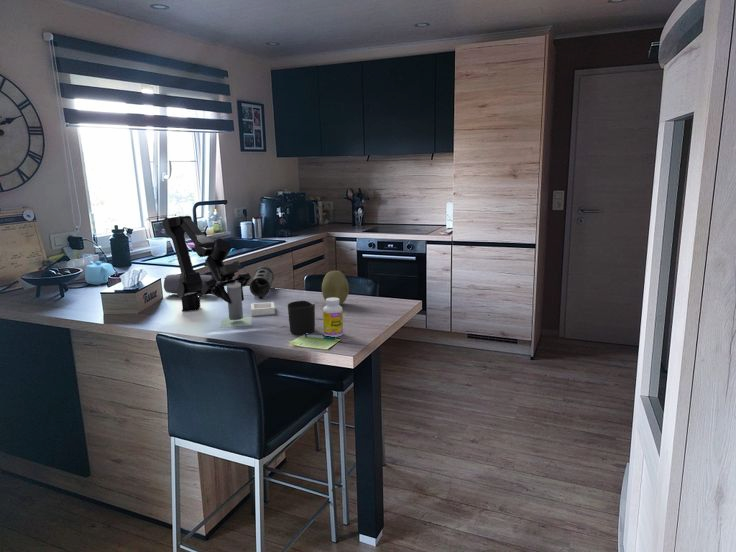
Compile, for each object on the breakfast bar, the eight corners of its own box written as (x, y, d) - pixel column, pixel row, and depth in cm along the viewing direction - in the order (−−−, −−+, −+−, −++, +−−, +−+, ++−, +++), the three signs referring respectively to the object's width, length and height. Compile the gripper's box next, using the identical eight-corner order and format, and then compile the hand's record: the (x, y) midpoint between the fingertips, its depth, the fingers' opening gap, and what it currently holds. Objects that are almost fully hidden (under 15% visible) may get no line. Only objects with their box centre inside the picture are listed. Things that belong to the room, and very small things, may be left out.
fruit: (354, 303, 214) (353, 269, 211) (338, 310, 205) (337, 274, 202) (332, 300, 220) (331, 266, 217) (316, 306, 211) (315, 271, 208)
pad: (220, 330, 182) (220, 327, 182) (222, 321, 193) (221, 318, 193) (251, 327, 185) (251, 324, 184) (251, 318, 195) (251, 316, 195)
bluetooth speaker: (163, 297, 230) (161, 276, 228) (175, 292, 239) (172, 271, 237) (210, 299, 226) (208, 277, 224) (219, 293, 235) (218, 272, 233)
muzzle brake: (249, 300, 224) (248, 277, 222) (255, 285, 251) (254, 265, 249) (271, 299, 225) (270, 276, 223) (275, 284, 252) (273, 264, 250)
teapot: (104, 278, 273) (102, 257, 271) (120, 283, 262) (117, 261, 260) (80, 282, 264) (77, 261, 262) (95, 287, 253) (91, 265, 250)
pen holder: (317, 327, 184) (316, 300, 182) (313, 335, 175) (312, 307, 172) (291, 327, 184) (290, 300, 182) (286, 335, 175) (285, 307, 173)
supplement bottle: (330, 339, 170) (329, 302, 168) (320, 334, 176) (318, 298, 173) (346, 335, 174) (345, 299, 171) (336, 330, 179) (335, 295, 177)
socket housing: (251, 318, 196) (251, 309, 195) (251, 311, 205) (250, 303, 204) (275, 316, 198) (274, 307, 197) (274, 310, 207) (273, 301, 206)
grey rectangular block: (226, 319, 186) (224, 285, 184) (233, 315, 191) (230, 282, 188) (239, 320, 185) (236, 285, 183) (245, 316, 190) (243, 282, 187)
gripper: (202, 258, 179) (222, 293, 174) (246, 251, 193) (266, 284, 188) (192, 277, 186) (211, 311, 181) (236, 269, 199) (254, 301, 195)
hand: (236, 301), depth 186 cm, fingers closed on grey rectangular block, 5 cm apart
